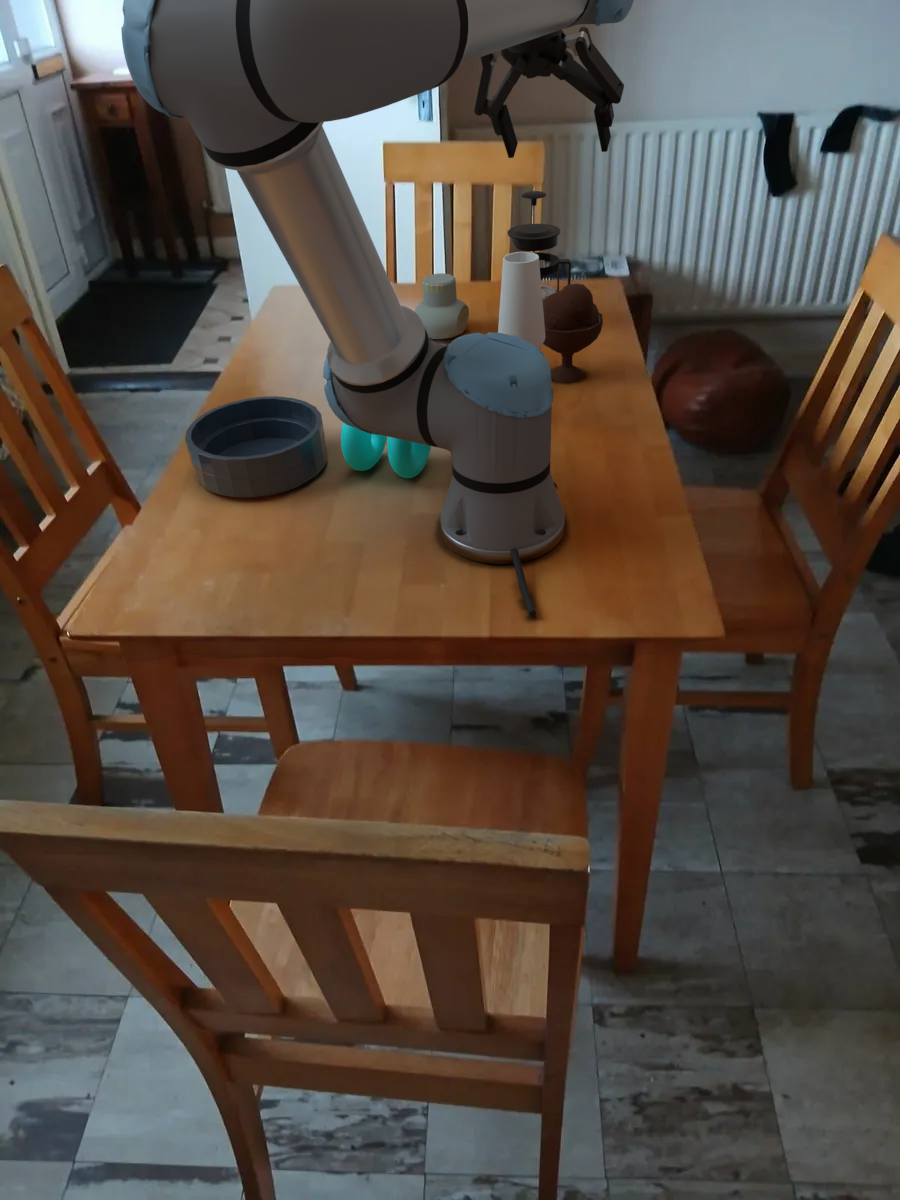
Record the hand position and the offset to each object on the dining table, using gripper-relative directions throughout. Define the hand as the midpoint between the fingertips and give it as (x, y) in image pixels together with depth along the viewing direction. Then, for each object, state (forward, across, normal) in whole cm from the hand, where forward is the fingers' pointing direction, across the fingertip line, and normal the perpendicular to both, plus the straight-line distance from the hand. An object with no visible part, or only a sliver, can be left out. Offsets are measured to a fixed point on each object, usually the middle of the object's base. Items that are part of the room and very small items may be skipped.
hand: (558, 147), depth 126 cm
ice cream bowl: (+29, +1, +18) cm, 34 cm away
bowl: (+5, +33, +52) cm, 61 cm away
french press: (+37, +12, +2) cm, 39 cm away
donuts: (+9, +15, +48) cm, 52 cm away
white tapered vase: (+19, +2, +33) cm, 38 cm away
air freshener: (+33, +27, +7) cm, 43 cm away
